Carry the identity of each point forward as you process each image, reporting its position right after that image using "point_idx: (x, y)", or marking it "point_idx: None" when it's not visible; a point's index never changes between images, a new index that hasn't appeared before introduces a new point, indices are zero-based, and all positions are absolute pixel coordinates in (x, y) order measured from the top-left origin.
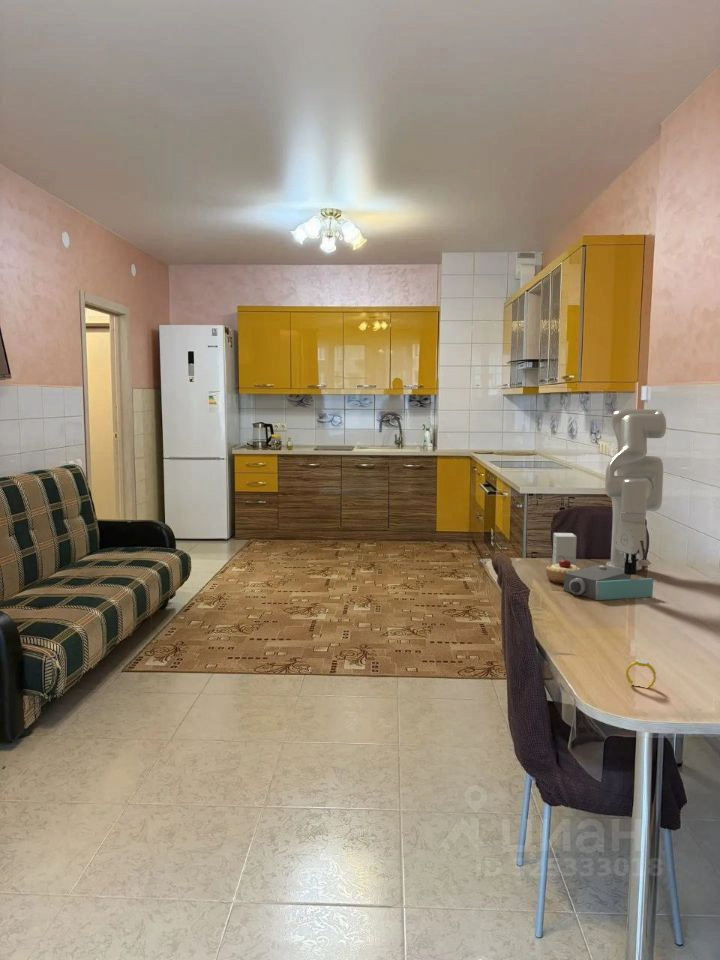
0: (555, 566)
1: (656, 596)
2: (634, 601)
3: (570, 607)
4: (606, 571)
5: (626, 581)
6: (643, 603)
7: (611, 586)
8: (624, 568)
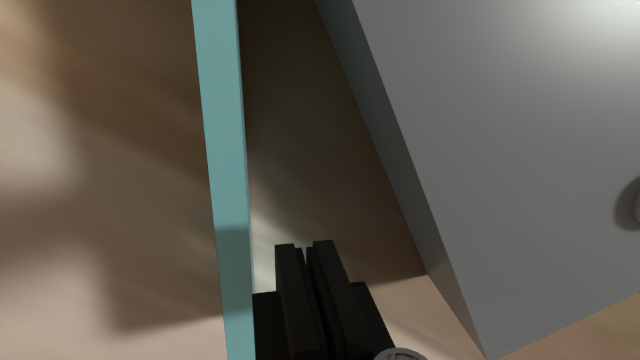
0: None
1: None
2: (149, 154)
3: None
4: (573, 173)
5: (211, 177)
6: (92, 189)
7: None
8: (345, 272)
